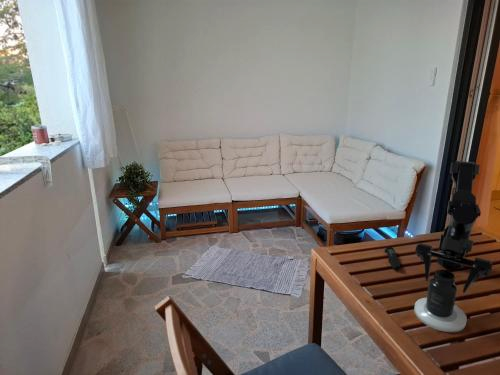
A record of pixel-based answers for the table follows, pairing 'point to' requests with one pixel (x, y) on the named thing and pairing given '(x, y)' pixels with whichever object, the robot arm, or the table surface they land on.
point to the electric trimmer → (393, 258)
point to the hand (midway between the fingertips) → (444, 286)
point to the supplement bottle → (441, 294)
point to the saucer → (440, 318)
